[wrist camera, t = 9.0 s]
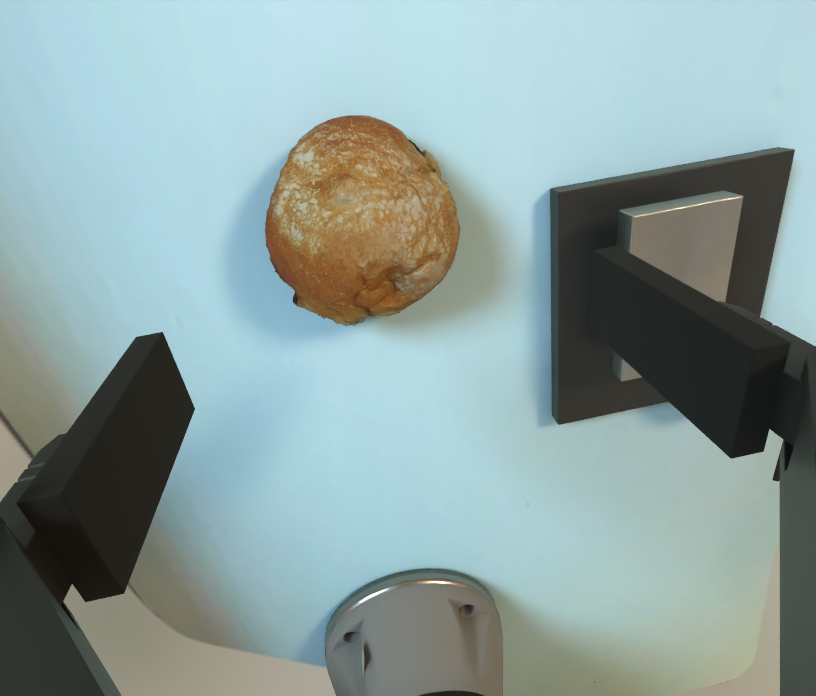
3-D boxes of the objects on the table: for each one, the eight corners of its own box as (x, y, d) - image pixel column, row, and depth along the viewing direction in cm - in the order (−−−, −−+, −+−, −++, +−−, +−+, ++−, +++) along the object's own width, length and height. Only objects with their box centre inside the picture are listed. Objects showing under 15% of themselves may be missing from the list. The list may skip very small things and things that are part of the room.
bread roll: (449, 212, 32) (526, 188, 25) (369, 353, 31) (426, 370, 24) (316, 107, 28) (360, 42, 21) (219, 263, 27) (231, 251, 20)
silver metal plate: (699, 351, 32) (715, 362, 31) (608, 370, 32) (621, 382, 30) (724, 189, 27) (744, 195, 26) (617, 209, 27) (633, 215, 26)
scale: (743, 384, 38) (775, 407, 35) (551, 425, 37) (569, 452, 34) (793, 144, 30) (839, 149, 27) (549, 188, 29) (572, 198, 26)
